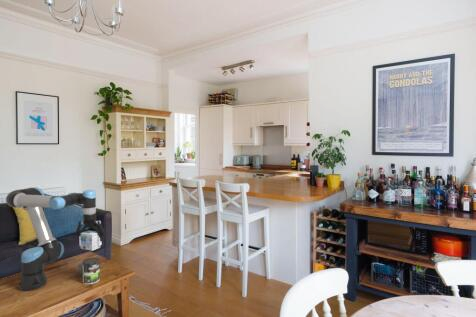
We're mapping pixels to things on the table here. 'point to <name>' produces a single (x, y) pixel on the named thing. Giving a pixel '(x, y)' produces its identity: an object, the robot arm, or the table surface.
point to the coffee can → (91, 270)
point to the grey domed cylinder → (80, 269)
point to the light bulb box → (89, 240)
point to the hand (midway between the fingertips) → (90, 245)
